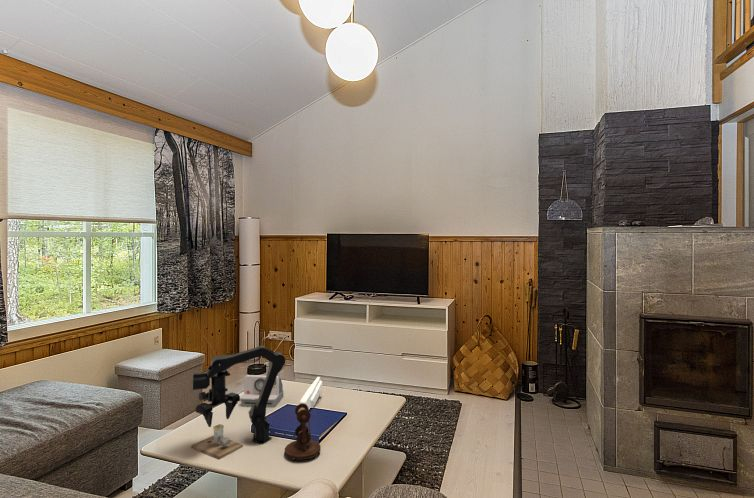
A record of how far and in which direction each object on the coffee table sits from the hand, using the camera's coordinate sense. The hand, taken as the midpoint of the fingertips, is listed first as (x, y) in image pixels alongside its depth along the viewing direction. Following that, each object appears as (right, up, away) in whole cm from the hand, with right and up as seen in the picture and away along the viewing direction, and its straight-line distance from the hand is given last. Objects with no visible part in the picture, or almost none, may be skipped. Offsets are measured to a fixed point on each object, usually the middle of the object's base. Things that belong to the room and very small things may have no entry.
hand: (218, 422), depth 182 cm
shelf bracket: (+33, -11, +48) cm, 59 cm away
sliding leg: (0, -9, 0) cm, 9 cm away
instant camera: (+5, -10, +54) cm, 55 cm away
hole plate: (-1, -11, +1) cm, 11 cm away
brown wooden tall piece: (+37, -11, -5) cm, 39 cm away
